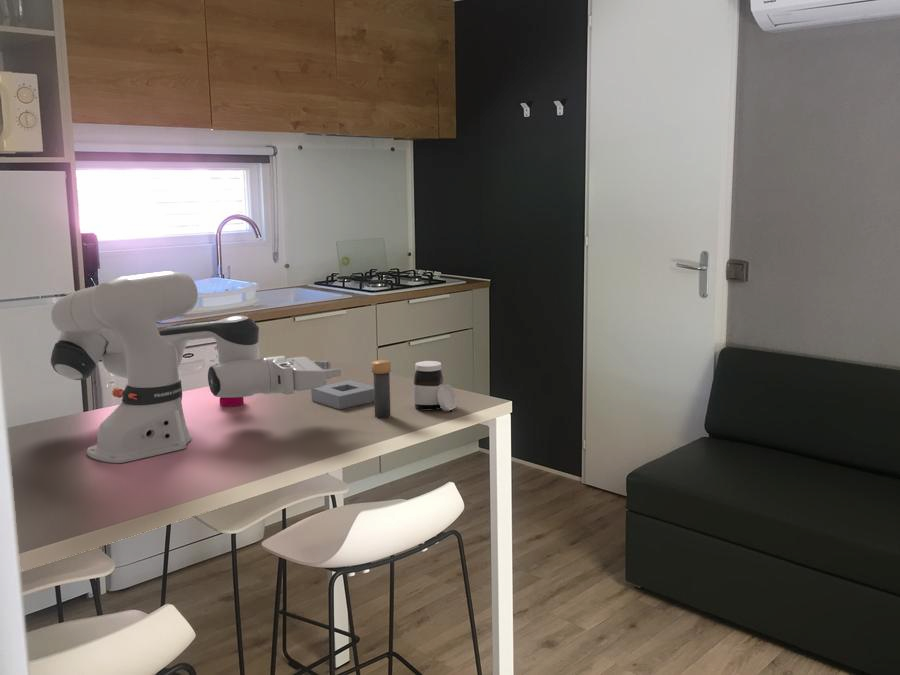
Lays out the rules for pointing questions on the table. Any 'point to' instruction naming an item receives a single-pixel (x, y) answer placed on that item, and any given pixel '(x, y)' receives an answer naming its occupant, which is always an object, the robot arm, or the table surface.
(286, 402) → the table surface
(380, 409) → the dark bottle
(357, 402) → the socket
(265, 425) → the table surface
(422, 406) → the spread jar
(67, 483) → the table surface
